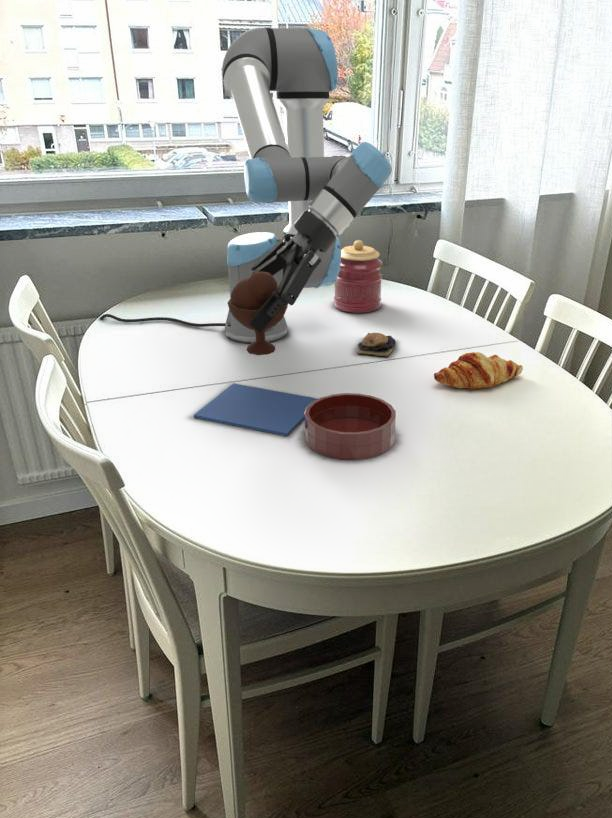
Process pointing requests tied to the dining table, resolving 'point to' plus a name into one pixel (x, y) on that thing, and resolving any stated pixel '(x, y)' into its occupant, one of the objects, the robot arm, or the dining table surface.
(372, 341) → the open sandwich
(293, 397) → the cloth
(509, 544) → the dining table surface
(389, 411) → the pot
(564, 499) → the dining table surface
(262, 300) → the ice cream bowl
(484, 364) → the croissant
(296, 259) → the robot arm
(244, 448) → the dining table surface
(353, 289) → the kitchen canister
